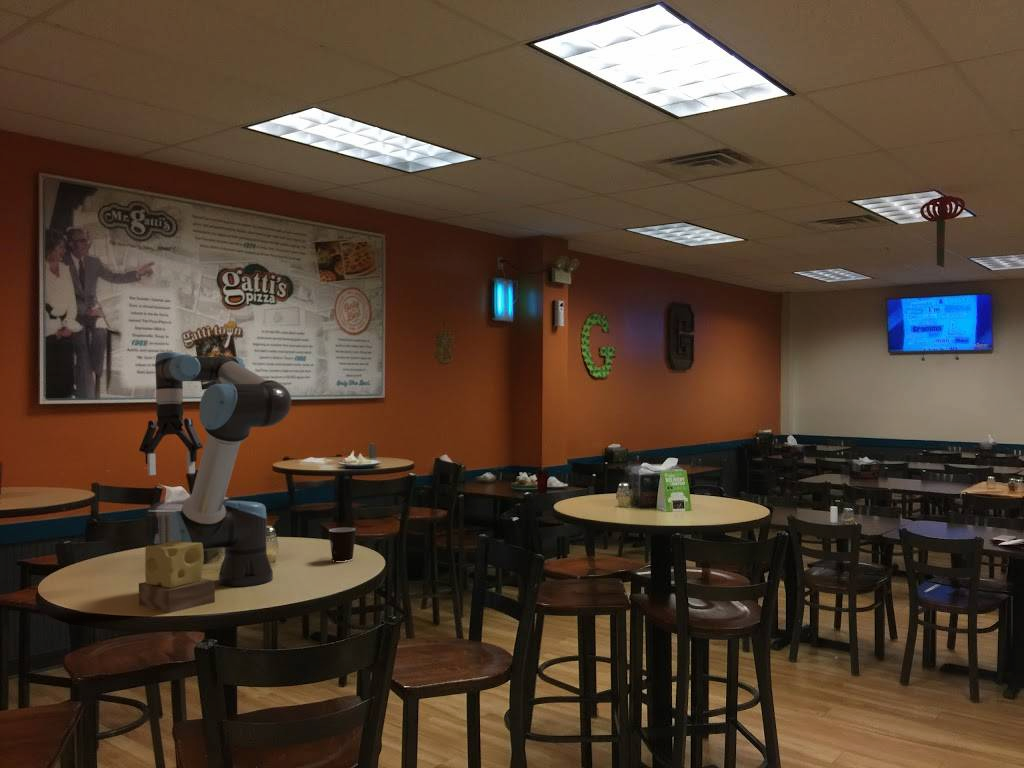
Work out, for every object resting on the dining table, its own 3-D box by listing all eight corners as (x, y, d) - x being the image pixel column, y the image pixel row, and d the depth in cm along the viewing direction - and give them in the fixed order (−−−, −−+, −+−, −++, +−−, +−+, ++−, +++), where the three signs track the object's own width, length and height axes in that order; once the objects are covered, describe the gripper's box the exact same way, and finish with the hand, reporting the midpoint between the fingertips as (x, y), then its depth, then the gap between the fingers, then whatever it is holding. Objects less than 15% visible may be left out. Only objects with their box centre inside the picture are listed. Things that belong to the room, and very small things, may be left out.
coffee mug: (353, 563, 268) (352, 532, 268) (326, 563, 268) (326, 532, 268) (360, 556, 280) (359, 526, 280) (334, 556, 280) (334, 526, 280)
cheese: (170, 588, 211) (170, 549, 211) (142, 584, 216) (142, 545, 216) (204, 580, 220) (204, 542, 220) (176, 576, 225) (176, 539, 225)
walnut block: (214, 603, 220) (214, 580, 220) (169, 614, 209) (168, 590, 209) (184, 596, 228) (184, 574, 228) (138, 606, 217) (138, 583, 217)
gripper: (213, 401, 253) (215, 471, 252) (142, 406, 259) (144, 475, 258) (198, 400, 246) (200, 473, 245) (125, 405, 252) (127, 476, 251)
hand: (171, 474), depth 251 cm, fingers open, 13 cm apart
